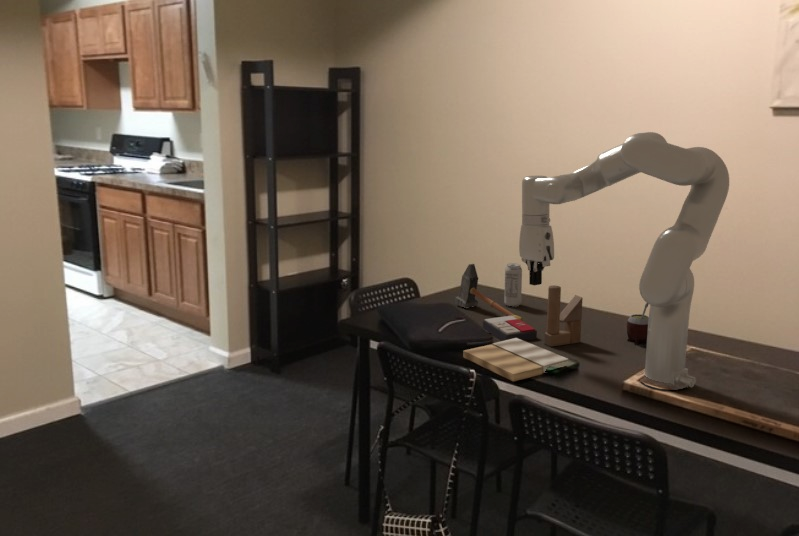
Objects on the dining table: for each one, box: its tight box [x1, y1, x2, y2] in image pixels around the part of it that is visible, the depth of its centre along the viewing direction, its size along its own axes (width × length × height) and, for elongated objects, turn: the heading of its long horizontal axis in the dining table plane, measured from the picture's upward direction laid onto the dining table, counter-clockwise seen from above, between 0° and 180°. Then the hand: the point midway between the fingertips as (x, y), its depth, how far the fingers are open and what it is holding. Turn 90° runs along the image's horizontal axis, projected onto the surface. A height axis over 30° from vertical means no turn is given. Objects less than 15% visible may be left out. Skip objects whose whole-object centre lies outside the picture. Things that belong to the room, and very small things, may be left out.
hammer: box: [454, 263, 524, 322], centre depth 242 cm, size 6×16×30 cm
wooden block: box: [543, 285, 583, 347], centre depth 211 cm, size 4×11×18 cm, turn 111°
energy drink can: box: [503, 262, 523, 307], centre depth 253 cm, size 6×6×15 cm
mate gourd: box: [626, 302, 649, 346], centre depth 211 cm, size 8×8×15 cm
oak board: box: [462, 344, 543, 382], centre depth 194 cm, size 22×10×2 cm, turn 31°
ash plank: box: [491, 338, 570, 374], centre depth 199 cm, size 22×9×2 cm, turn 31°
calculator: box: [482, 315, 538, 342], centre depth 222 cm, size 11×4×15 cm
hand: (535, 284), depth 200 cm, fingers closed
